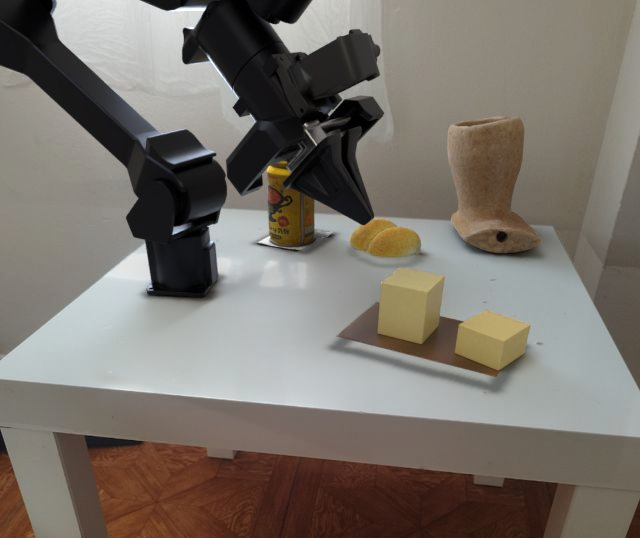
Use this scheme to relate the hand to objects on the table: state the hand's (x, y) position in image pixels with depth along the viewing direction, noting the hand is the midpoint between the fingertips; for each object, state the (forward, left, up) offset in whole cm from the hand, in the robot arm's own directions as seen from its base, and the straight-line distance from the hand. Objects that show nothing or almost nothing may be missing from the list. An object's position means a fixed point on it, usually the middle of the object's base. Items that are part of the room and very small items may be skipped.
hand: (369, 221), depth 54 cm
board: (+6, -3, -11) cm, 13 cm away
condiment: (-11, +26, -11) cm, 31 cm away
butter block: (+4, -2, -9) cm, 10 cm away
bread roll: (+1, +22, -11) cm, 25 cm away
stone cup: (+14, +30, -11) cm, 35 cm away
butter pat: (+11, -5, -7) cm, 14 cm away
